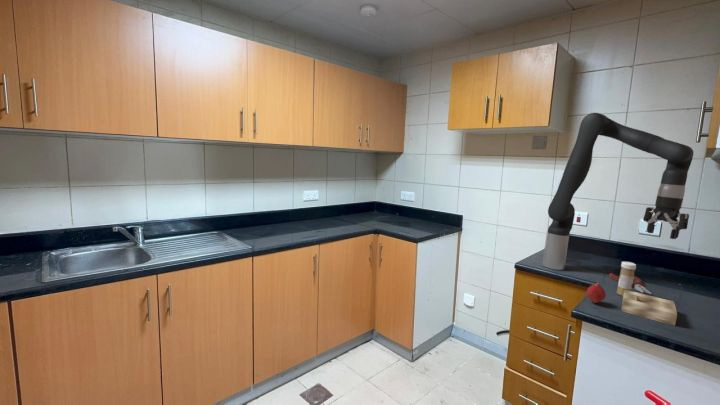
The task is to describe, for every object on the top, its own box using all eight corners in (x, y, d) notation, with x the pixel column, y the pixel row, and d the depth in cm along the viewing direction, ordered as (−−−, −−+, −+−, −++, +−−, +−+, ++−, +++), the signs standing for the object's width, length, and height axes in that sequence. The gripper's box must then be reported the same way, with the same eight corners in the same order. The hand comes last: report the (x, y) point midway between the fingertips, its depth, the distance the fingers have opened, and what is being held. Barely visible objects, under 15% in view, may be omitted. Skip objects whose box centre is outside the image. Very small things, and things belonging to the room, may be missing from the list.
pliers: (630, 294, 133) (632, 288, 132) (606, 277, 152) (607, 271, 152) (663, 298, 130) (665, 292, 130) (635, 280, 149) (636, 275, 149)
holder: (621, 311, 116) (623, 300, 115) (622, 299, 126) (624, 289, 126) (674, 325, 107) (677, 314, 106) (671, 311, 117) (673, 301, 116)
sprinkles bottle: (619, 291, 134) (625, 260, 132) (632, 296, 130) (638, 264, 128) (613, 293, 132) (619, 261, 130) (626, 297, 128) (632, 265, 126)
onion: (581, 299, 124) (584, 279, 123) (595, 299, 125) (598, 279, 123) (593, 306, 118) (596, 285, 117) (607, 306, 119) (611, 286, 118)
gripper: (643, 193, 132) (635, 231, 135) (683, 198, 119) (673, 240, 121) (658, 193, 134) (650, 231, 136) (699, 199, 120) (689, 241, 123)
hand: (661, 235), depth 129 cm, fingers open, 8 cm apart
